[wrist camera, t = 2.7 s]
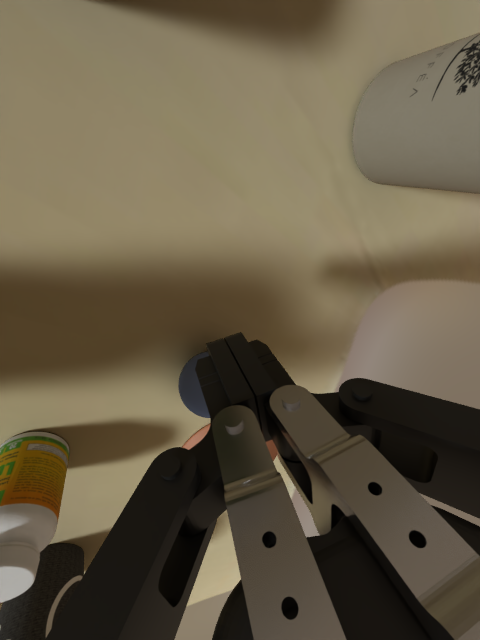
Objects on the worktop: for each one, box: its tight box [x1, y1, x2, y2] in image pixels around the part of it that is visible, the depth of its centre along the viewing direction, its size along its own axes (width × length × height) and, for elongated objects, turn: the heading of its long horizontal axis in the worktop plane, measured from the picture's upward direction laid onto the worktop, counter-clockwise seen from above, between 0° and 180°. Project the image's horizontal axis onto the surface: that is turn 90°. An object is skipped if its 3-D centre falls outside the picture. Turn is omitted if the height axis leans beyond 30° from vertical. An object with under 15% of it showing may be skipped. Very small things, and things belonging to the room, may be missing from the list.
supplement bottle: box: [0, 432, 69, 603], centre depth 22 cm, size 5×5×10 cm
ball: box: [179, 352, 210, 418], centre depth 25 cm, size 6×6×6 cm
